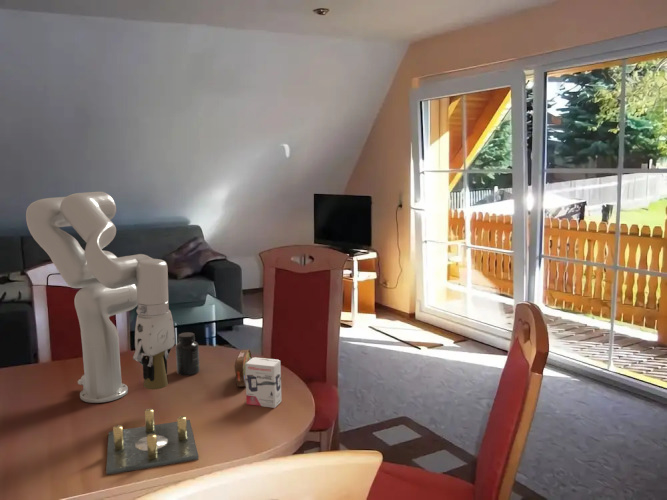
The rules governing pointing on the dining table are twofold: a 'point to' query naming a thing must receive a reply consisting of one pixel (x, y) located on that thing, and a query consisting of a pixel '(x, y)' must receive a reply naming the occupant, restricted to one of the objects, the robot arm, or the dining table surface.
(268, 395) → the ink box
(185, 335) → the supplement bottle
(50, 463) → the dining table surface
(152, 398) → the dining table surface
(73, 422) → the dining table surface
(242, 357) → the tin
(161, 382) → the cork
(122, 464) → the chassis plate
